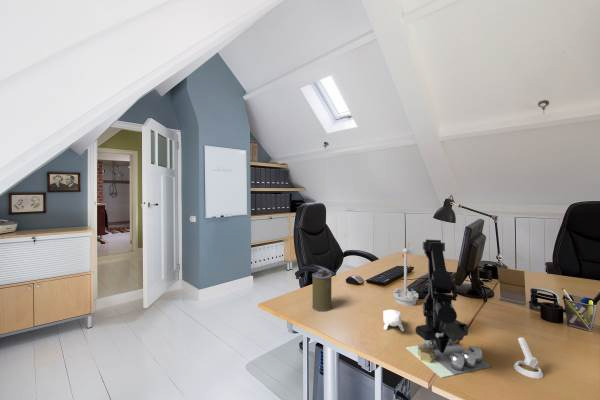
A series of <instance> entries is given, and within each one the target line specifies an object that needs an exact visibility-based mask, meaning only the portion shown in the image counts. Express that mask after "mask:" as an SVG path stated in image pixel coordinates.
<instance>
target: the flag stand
mask: <svg viewBox="0 0 600 400" xmlns="http://www.w3.org/2000/svg"><path fill="white" fill-rule="evenodd" d="M402 253H403V254H402V258H403V290H401V288H399V287H398V288H395V289H393V290H392V293H393V294H392V296H393V297H394V301H396V302H397V304H398V303H399V304H398V305H401V304H402V305H401V306H405V305H406V307H411V306H415V305H417V300H418V299H419V293H418V292H417V291H416V290H413V289H412V290H411V291H410V290H409V288H408V253H409V249H408V248H406V247H404V248H403V249H402ZM396 302H395V303H396Z"/></svg>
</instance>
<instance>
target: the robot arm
mask: <svg viewBox="0 0 600 400" xmlns="http://www.w3.org/2000/svg"><path fill="white" fill-rule="evenodd" d="M422 250H423V251H424V255H425V256H426V258H427V260H428V261H427V263H428V264H427V265H428V266H427V269H428V276H427V277H428V293H427V294H426V295H425V297H424V302H423V305H422V314H423V317H425V324H421V325H417V326H415V334H416V335H418V336H419V337H420V338H422V339H423V341H424V340H427V341H428V340H435V342H436V344H437V347H438V349H439V351H440V352H441V353H444V350H445V348H446V346H447V344H448V342H449V340H452V341H453V342H457V341H463V340H464V337H466V336H468V334H469V327H468V324H466V323H463V322H461V321H459V320H458V319H457V318H458V315H457V311H456V309H455V307H454V306H453V304H452V301H455V302H456V301H457V298H458V292H457V285H456V284H455V281H454V280H453V279H452V278H453V277H452V274H451V273H449V272H448V270H447V267H446V266H447V265H446V260H445V256H444V252H446V242H442V241H441V239H425V240H424V241H423V242H422ZM451 293H452V294H451Z"/></svg>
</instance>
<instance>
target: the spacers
mask: <svg viewBox="0 0 600 400" xmlns="http://www.w3.org/2000/svg"><path fill="white" fill-rule="evenodd" d="M423 344H424V346H427V347H431V348H432V349H433V350H435V349H436V342H435V340H428V341H427V340H424V339H423ZM447 346H451V340H449V342H448V344H447ZM482 360H483V350H482V349H481V348H480V347H478V346H473V345H471V346H469V347H468V350H467V349H466V350H464V351H462V355H461V354H459V353H451V368H453V369H454V370H456V371H464V366H465V367H467V368H470V369H474V368H476V364H481V363H482Z"/></svg>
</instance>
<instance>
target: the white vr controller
mask: <svg viewBox="0 0 600 400" xmlns="http://www.w3.org/2000/svg"><path fill="white" fill-rule="evenodd" d="M517 340H518V343H519V346H520V348H521V351H522V353H523V355H524V360H517V361H516V362H515V363H513V364H514V365H513V368H514V370H515V371H516V372H517V373H519V374H521V375H523V376H525V377H528V378H531V379H542V378H543V377H544V373H543V371H542V369H541V367H539V366H538V364H539V361H538V359H537V358H536V357H535V356H533V355H532V352H531V349H530V347H529V345H528V343H527V341H526V338H525V337H521V336H520V337H518V338H517ZM520 365H523V366H528V367H531V368H533V369H535V370H537V371H531V370H528V369H525V368H524V367H521V366H520Z"/></svg>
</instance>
